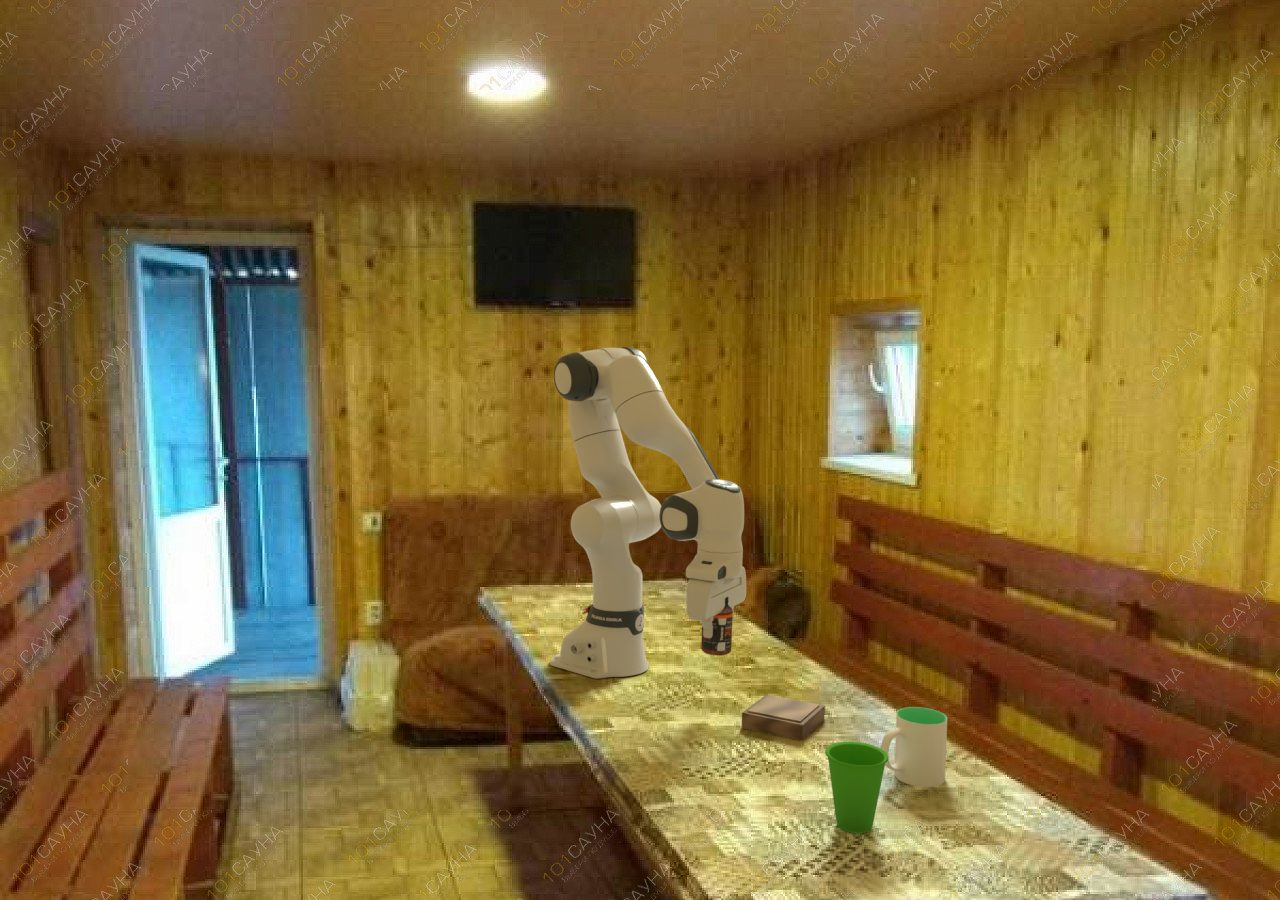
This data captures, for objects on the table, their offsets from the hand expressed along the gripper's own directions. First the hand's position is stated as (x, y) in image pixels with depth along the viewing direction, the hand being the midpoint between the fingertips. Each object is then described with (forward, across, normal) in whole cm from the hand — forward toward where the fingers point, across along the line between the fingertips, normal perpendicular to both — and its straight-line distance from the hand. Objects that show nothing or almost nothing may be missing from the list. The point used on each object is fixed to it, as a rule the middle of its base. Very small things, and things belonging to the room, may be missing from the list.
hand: (716, 632), depth 187 cm
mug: (+15, +12, +42) cm, 46 cm away
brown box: (+15, 0, +15) cm, 21 cm away
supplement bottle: (+4, 0, 0) cm, 4 cm away
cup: (+15, +33, +39) cm, 53 cm away
